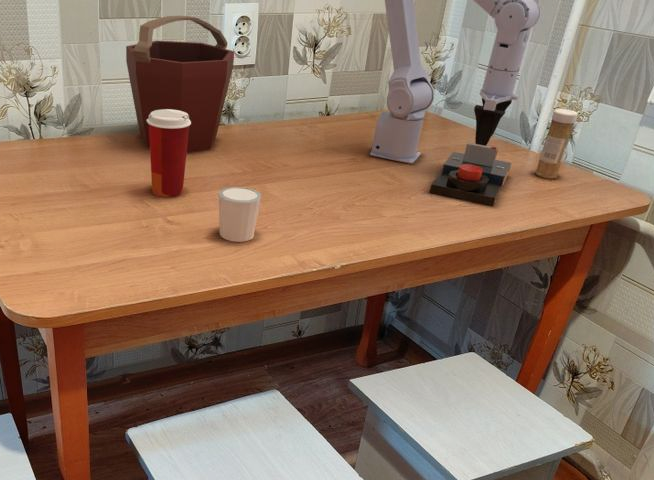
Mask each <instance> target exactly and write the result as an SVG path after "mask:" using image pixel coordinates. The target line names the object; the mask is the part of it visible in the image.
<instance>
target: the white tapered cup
mask: <svg viewBox="0 0 654 480" xmlns="http://www.w3.org/2000/svg"><path fill="white" fill-rule="evenodd" d="M261 200H262V194H261V193H260V192H259V191H258V190H255V188H254V189H253V188H250V187H244V186H228V187H224V188H222V189H220V190H219V192H218V218H219V219H218V220H219V221H218V222H219V223H218V225H219V236H220V237H221V238H223V239H224V240H226V241H230V242H236V243H243V242H248V241H251V240H253V238H254V236H255V233H256V232H255V230H256V227H257V221H258V215H259V210H260V206H261Z"/></svg>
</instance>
